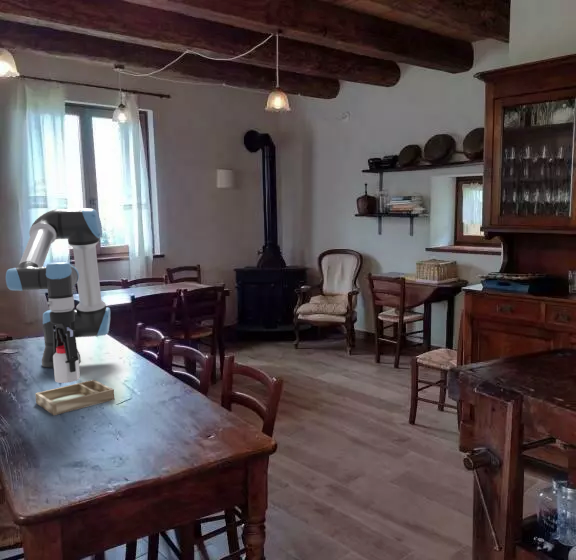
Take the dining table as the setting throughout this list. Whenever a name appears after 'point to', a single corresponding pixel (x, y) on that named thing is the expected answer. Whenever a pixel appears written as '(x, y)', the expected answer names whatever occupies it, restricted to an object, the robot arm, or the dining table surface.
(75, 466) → the dining table surface
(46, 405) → the crate
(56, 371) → the pill bottle
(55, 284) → the robot arm
